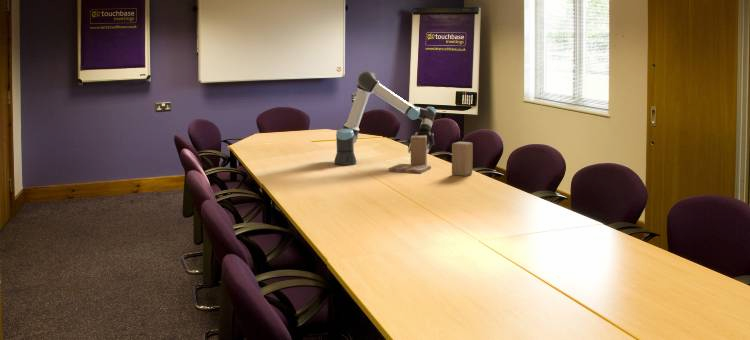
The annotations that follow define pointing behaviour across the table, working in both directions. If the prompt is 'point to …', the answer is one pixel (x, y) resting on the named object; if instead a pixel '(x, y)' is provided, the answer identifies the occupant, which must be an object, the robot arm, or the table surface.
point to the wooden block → (418, 149)
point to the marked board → (410, 168)
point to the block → (462, 158)
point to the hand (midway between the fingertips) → (417, 152)
